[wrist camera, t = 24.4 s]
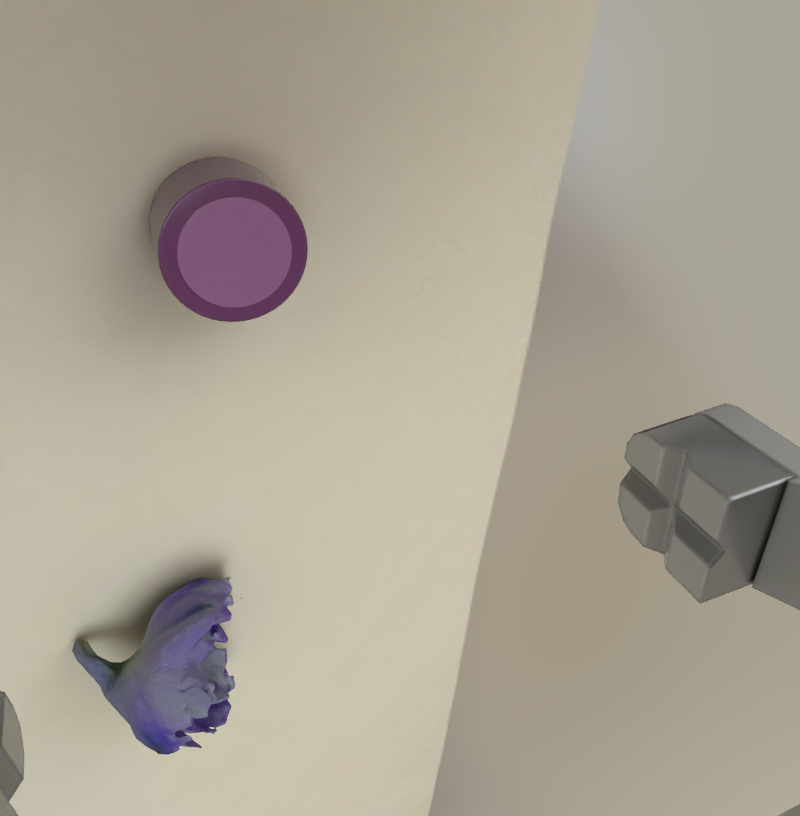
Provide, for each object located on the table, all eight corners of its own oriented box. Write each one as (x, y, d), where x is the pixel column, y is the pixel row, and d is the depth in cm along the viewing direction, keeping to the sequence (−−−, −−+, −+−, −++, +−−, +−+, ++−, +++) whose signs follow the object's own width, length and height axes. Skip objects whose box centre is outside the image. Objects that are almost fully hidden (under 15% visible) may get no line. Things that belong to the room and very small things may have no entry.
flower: (57, 803, 36) (234, 796, 35) (10, 656, 35) (195, 640, 33) (145, 694, 45) (290, 684, 43) (111, 573, 44) (261, 557, 42)
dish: (132, 168, 28) (140, 192, 25) (276, 147, 30) (298, 167, 27) (167, 302, 32) (178, 336, 29) (294, 276, 33) (316, 306, 31)
